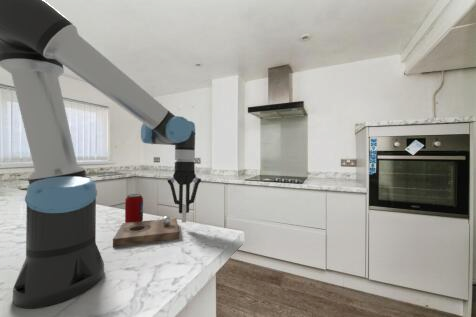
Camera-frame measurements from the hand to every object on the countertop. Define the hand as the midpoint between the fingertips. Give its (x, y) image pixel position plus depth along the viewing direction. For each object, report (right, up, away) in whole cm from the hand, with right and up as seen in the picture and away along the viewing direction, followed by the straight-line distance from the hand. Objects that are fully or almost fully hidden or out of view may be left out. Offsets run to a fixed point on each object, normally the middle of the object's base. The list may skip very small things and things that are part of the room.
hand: (183, 221), depth 78 cm
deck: (-12, -3, -4) cm, 13 cm away
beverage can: (-23, -3, +7) cm, 25 cm away
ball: (-6, +1, -2) cm, 6 cm away
